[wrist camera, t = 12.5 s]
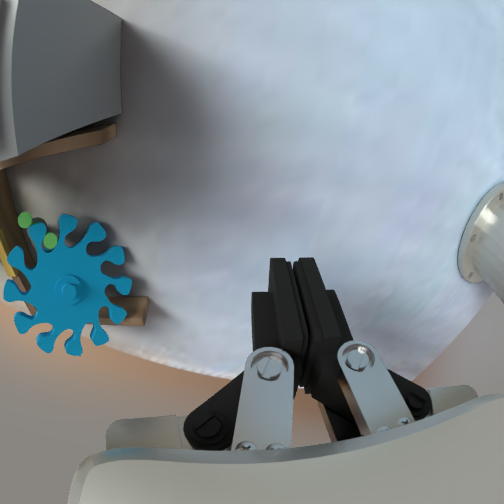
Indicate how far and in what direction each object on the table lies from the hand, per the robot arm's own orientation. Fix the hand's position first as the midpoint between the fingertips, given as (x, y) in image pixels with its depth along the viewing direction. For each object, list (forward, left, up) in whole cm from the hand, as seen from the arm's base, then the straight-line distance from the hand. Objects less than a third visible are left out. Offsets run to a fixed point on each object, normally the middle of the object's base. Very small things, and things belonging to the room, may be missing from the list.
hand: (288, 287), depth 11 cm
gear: (+14, +3, -9) cm, 17 cm away
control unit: (+13, -10, -8) cm, 19 cm away
